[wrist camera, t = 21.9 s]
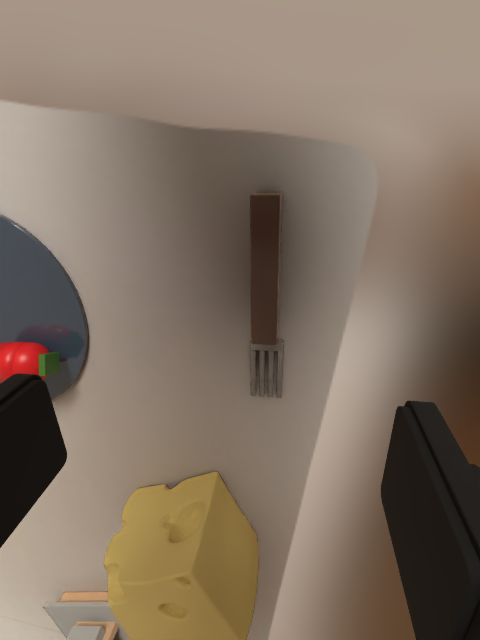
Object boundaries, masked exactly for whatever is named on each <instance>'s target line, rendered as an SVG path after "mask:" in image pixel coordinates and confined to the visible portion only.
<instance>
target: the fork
mask: <svg viewBox="0 0 480 640" xmlns="http://www.w3.org/2000/svg"><path fill="white" fill-rule="evenodd" d="M282 194H283V193H282V192H257V193H255V194H253V195H251V196H250V227H251V396H255V395H256V350H260V373H259V396H263V397H264V393H265V351H269V371H268V397H273V378H274V351H278V369H277V398H281V397H282V371H283V342H284V341H283V340H277V337H278V329H279V303H280V266H281V230H282Z"/></svg>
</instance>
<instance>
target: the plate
mask: <svg viewBox="0 0 480 640" xmlns="http://www.w3.org/2000/svg"><path fill="white" fill-rule="evenodd" d="M4 342H34V343H39V344H41V345H43V346H45V347H46V348H47V349H48V350H49V351H50V352H59V368H60V372H59V373H56V374H52V375H48V376H47V377H46V378H45V379H43V381H44V382H46V384H47V387H48V391H49V394H50V397H51V398H53V397H56V396H57V395H59V394H60V393H62V392H63V391H64V390H66V389H67V388H68V387H69V386H70V385H71V384H72V383H73V382H74V380H75V379H76V378H77V376H78V375H79V373H80V371H81V369H82V367H83V365H84V362H85V358H86V355H87V348H88V328H87V321H86V316H85V313H84V309H83V305H82V303H81V300H80V298H79V295H78V293H77V290H76V289H75V287H74V285H73V283H72V281H71V279H70V277H69V276H68V274H67V273H66V271H65V270H64V268H63V267H62V265H61V264H60V263H59V261H58V260H57V259H56V258H55V257H54V255H53V254H52V253H51V252H50V251H49V250H48V249H47V248H46V247H45V246H44V245H43V244H42V243H41V242H40V241H39V240H38V239H37V238H36V237H34V236H33V235H32V234H31V233H29V232H28V231H27V230H26V229H24V228H23V227H21V226H20V225H18V224H17V223H15V222H14V221H12V220H10V219H9V218H7V217H4V216H2V215H0V343H4ZM0 384H1V383H0Z"/></svg>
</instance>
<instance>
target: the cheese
mask: <svg viewBox="0 0 480 640" xmlns="http://www.w3.org/2000/svg"><path fill="white" fill-rule="evenodd" d="M122 522H123V523H122V530H121V531H120V532H119V533H118V534H116V535H114V536H113V538H112V540H111V542H110V543H109V546H108V548H107V551H106V554H105V559H104V566H105V569H106V570H107V573H108V602H109V607H110V609H111V611H112V613H113V614H114V616H115V617H116V619H117V620H118V622H119V623H120V624H121V626H122V627H123V629H124V631H125V632H126V634H127V636H128V637H129V639H130V640H247V636H248V632H249V628H250V625H251V621H252V617H253V612H254V607H255V600H256V591H257V581H258V565H259V555H258V540H257V535H256V533H255V532H254V530H253V528H252V526H251V525H250V523H249V521H248V520H247V518H246V517H245V515H244V514H243V512H242V511H241V510H240V508H239V507H238V505H237V504H236V502H235V501H234V499H233V497H232V496H231V494H230V492H229V491H228V489H227V487H226V486H225V484H224V482H223V480H222V479H221V477H220V475H219V473H218V472H211V473H208V474H204V475H200V476H196V477H192V478H189V479H186V480H183V481H182V482H181V483H179V484H178V485H177V486H176V487H174V488H173V489H169V488H168V487H167V486H166V485H165V484H161V485H155V486H150V487H144V488H138V489H136V490H135V492H134V493H133V494H132V495H131V496H130V498H129V499H128V501H127V503H126V505H125V507H124V510H123V513H122Z"/></svg>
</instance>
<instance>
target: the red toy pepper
mask: <svg viewBox="0 0 480 640" xmlns="http://www.w3.org/2000/svg"><path fill="white" fill-rule="evenodd" d="M59 372H60V368H59V352H50V351H49V350H48V349H47V348H46V347H45V346H43V345H41V344H39V343H34V342H4V343H0V383H2V382H4V381H5V380H6V379H8V378H9V377H10V376H12V375H14V374H17V373H22V374H36V375H39V376H40V377H41V378H42V380H43V379H45V378H46V377H47V376H48V375H52V374H56V373H59Z"/></svg>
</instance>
